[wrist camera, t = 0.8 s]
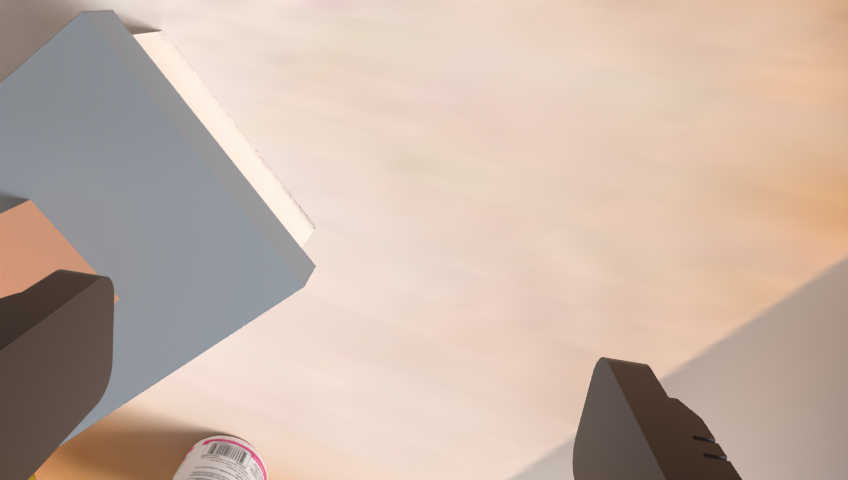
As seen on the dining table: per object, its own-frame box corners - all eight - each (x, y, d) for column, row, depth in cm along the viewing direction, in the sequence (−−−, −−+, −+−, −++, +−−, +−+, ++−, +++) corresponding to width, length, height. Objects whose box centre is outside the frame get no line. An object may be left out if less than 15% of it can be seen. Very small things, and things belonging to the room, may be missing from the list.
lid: (112, 9, 25) (-28, 16, 18) (315, 266, 28) (263, 357, 21) (-126, 214, 29) (-320, 287, 22) (78, 422, 32) (-35, 545, 25)
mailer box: (162, 31, 30) (91, 39, 24) (315, 227, 33) (283, 275, 27) (-30, 189, 33) (-132, 230, 27) (124, 356, 36) (59, 424, 30)
